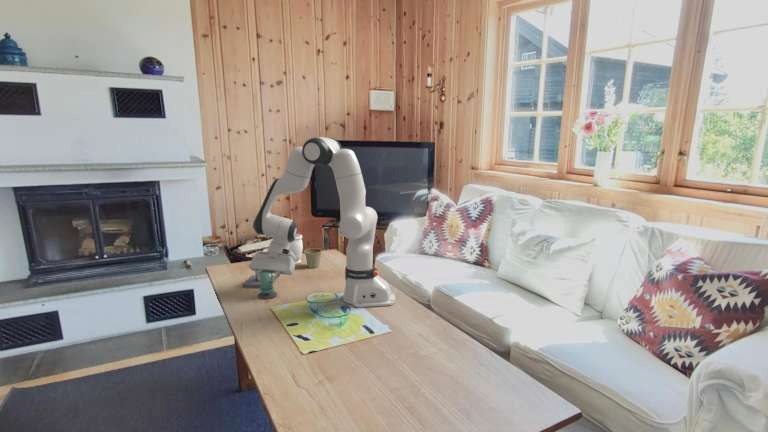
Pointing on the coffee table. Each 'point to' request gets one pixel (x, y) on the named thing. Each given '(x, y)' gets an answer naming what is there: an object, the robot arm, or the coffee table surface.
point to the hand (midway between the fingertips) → (265, 281)
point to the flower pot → (313, 257)
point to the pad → (267, 295)
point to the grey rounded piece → (256, 275)
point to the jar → (297, 248)
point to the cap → (266, 282)
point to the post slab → (252, 282)
